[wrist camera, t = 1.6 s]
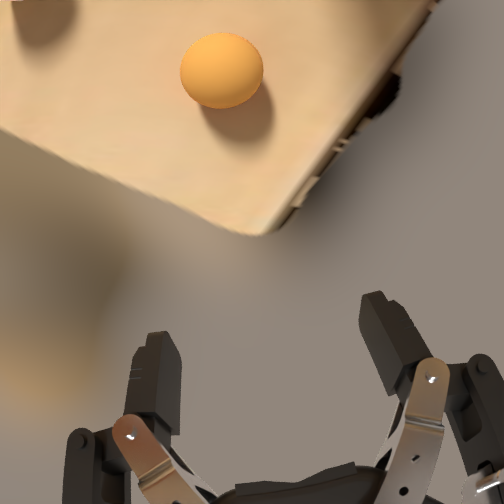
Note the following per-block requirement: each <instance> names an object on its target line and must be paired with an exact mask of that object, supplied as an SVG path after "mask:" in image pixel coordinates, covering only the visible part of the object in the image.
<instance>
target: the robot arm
mask: <svg viewBox="0 0 504 504" xmlns="http://www.w3.org/2000/svg"><path fill="white" fill-rule="evenodd" d="M359 328H360V332H361V334H362V337H363V339H364V341H365V343H366V345H367V348H368V350H369V352H370V354H371V357H372V359H373V361H374V363H375V366H376V368H377V370H378V373H379V375H380V378H381V380H382V382H383V385H384V387H385V389H386V392H387V394H388V396H391V395H394V394H397V396H398V398H399V401H398V403H397V407H396V410H395V413H394V416H393V419H392V422H391V425H390V428H389V431H388V434H387V436H386V439H385V441H384V444H383V446H382V447H381V449H380V451H379V453H378V456H377V458H376V460H375V463H374V465H373V467H370V466H355V463H354V462H351V463H348V464H344V465H340V466H337V467H333V468H329V469H325V470H323V471H321V472H319V473H317V474H315V475H313V476H311V477H308V478H306V479H304V480H302V481H300V482H296V483H288V482H272V481H260V482H251V483H242V484H235V489H232V490H230V491H228V492H225V493H224V494H222V495H220V496H218V495H217V494H216V493H215V492H214V491H213V490H212V489H211V488H210V487H209V486H208V485H207V484H206V483H205V482H204V481H203V480H202V479H200V478H199V477H198V476H197V475H196V474H195V472H194V471H193V470H192V469H191V468H190V467H189V466H188V464H187V463H186V462H185V461H184V460H183V458H182V457H181V456H180V455H179V454H178V452H177V451H176V450H175V449H174V447H173V446H172V445H171V435H180V396H181V372H182V371H181V370H182V364H181V363H182V362H181V357H180V354H179V351H178V350H177V348H176V346H175V344H174V343H173V341H172V339H171V337H170V335H169V333H168V332H167V331H161V332H154V333H148V335H147V339H146V345H145V346H143V347H139V348H138V350H137V351H136V353H135V355H134V356H133V359H132V365H131V371H130V377H129V378H130V380H129V383H128V388H127V395H126V402H125V409H124V413H123V416H122V417H120V418H119V419H117V421H116V422H115V423H114V425H113V427H111V428H108V429H105V430H101V431H98V432H94V433H92V432H91V431H90V430H88V429H86V428H78V429H75V430H74V431H73V432H72V433H71V434H70V435H69V437H68V441H67V448H66V456H65V457H66V458H65V466H64V478H63V494H62V504H131V480H130V479H131V471H132V470H133V472H134V473H135V475H136V476H137V478H138V479H139V483H138V486H139V489H140V490H141V492H142V494H143V495H144V497H145V498H146V499H147V501H148V502H149V503H150V504H443V503H442V502H440V501H438V500H436V499H434V498H432V497H430V496H428V495H426V492H427V489H428V486H429V484H430V481H431V478H432V474H433V472H434V468H435V465H436V462H437V459H438V455H439V451H440V448H441V444H442V440H443V436H444V426H443V425H442V417H443V412H446V414H447V417H448V420H449V422H450V425H451V428H452V430H453V433H454V436H455V438H456V441H457V444H458V447H459V450H460V453H461V456H462V459H463V462H464V465H465V469H466V472H467V475H468V478H467V479H466V481H465V483H464V485H463V489H462V496H463V499H462V503H461V504H504V380H503V378H502V376H501V375H500V373H499V371H498V369H497V367H496V365H495V363H494V362H493V360H492V359H491V358H490V357H489V356H487V355H485V354H476V355H474V356H472V357H471V358H470V360H469V361H468V363H460V364H445V362H444V361H442V360H440V359H438V358H434V357H433V356H432V354H431V353H430V351H429V349H428V347H427V346H426V344H425V342H424V340H423V339H422V337H421V335H420V333H419V332H418V330H417V328H416V327H415V326H414V323H413V322H412V320H411V319H410V317H409V315H408V314H407V312H406V311H405V309H404V307H403V306H401V305H400V304H399V303H397V302H396V301H394V300H392V301H388V300H387V299H386V297H385V295H384V294H383V292H382V291H375V292H372V293H368V294H364V295H363V296H362V300H361V307H360V314H359Z"/></svg>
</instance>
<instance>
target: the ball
mask: <svg viewBox="0 0 504 504" xmlns="http://www.w3.org/2000/svg"><path fill="white" fill-rule="evenodd" d="M180 77H181V81H182V85H183V87H184V89H185V90H186V92H187V93H188V94H189V96H190V97H191V98H192V99H194V100H195V101H196V102H198V103H200V104H202V105H204V106H207V107H211V108H217V109H224V108H230V107H234V106H237V105H239V104H241V103H243V102H245V101H246V100H248V99H249V98H250V97H251V96H252V95H253V94H254V93H255V92H256V91H257V89H258V88H259V86H260V84H261V81H262V77H263V62H262V58H261V56H260V54H259V52H258V50H257V49H256V48H255V47H254V45H252V44H251V43H250V42H249V41H248V40H246V39H244V38H243V37H240V36H238V35H235V34H230V33H216V34H212V35H208V36H206V37H203V38H201V39H200V40H198V41H197V42H195V43H194V44H193V45H192V46H191V47H190V48H189V49H188V50H187V52H186V53H185V55H184V57H183V59H182V63H181V67H180Z"/></svg>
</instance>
